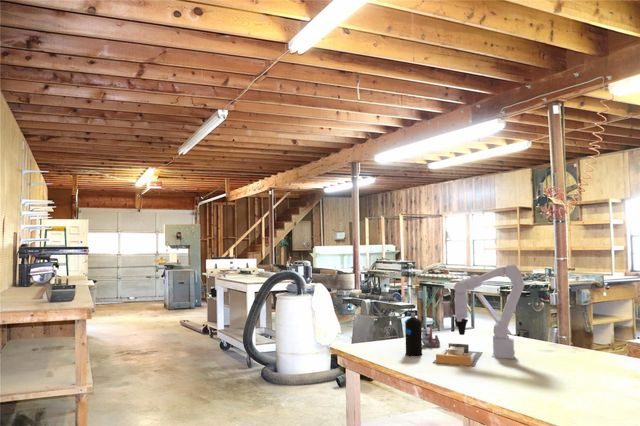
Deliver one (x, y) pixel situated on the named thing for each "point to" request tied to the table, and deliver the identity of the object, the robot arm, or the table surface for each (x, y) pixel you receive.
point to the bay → (458, 358)
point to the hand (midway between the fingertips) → (461, 334)
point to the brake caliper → (430, 339)
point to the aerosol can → (413, 336)
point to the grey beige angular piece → (458, 349)
